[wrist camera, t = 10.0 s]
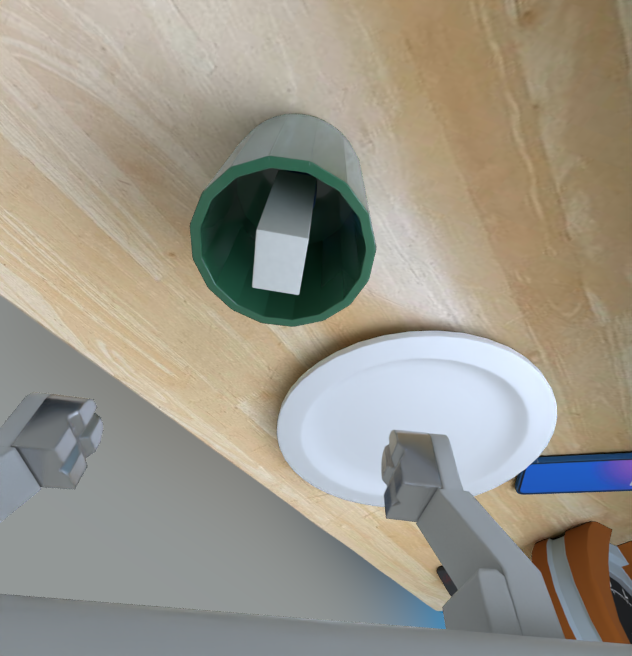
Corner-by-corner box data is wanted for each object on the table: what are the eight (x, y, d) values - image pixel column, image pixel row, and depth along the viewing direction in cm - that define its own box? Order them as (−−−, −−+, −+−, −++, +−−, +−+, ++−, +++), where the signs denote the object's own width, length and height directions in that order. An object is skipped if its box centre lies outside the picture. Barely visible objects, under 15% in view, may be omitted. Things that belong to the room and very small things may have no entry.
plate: (524, 272, 31) (536, 288, 29) (560, 461, 46) (570, 479, 44) (228, 376, 39) (222, 393, 37) (341, 506, 54) (342, 523, 52)
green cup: (231, 103, 24) (182, 143, 16) (375, 123, 25) (394, 172, 17) (233, 237, 30) (197, 316, 22) (350, 252, 30) (356, 334, 22)
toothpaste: (278, 160, 25) (251, 228, 18) (320, 169, 26) (313, 239, 18) (273, 207, 27) (247, 287, 20) (312, 215, 28) (302, 296, 20)
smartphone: (524, 462, 45) (669, 455, 43) (521, 455, 46) (664, 448, 43) (515, 495, 49) (646, 490, 47) (512, 489, 50) (642, 484, 48)
